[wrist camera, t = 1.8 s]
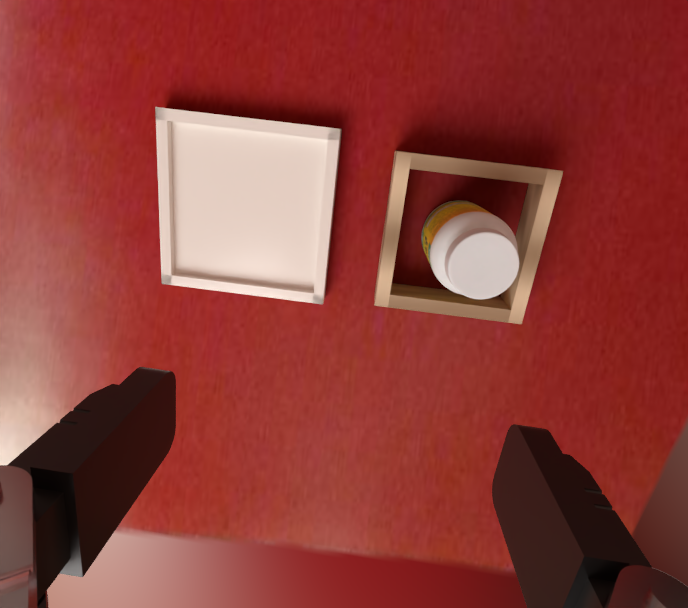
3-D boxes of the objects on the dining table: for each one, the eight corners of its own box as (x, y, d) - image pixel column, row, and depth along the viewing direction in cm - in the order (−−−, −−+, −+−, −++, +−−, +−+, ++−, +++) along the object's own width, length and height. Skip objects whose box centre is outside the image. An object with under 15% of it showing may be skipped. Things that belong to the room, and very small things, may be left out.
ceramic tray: (164, 108, 32) (155, 106, 31) (342, 129, 32) (340, 128, 30) (169, 278, 37) (161, 283, 35) (324, 298, 36) (322, 304, 35)
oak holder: (395, 150, 32) (397, 151, 29) (546, 168, 32) (563, 171, 29) (374, 292, 36) (374, 305, 33) (509, 309, 36) (521, 324, 33)
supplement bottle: (504, 242, 34) (551, 278, 25) (444, 281, 35) (468, 328, 26) (467, 183, 33) (502, 199, 24) (406, 226, 34) (417, 256, 25)
